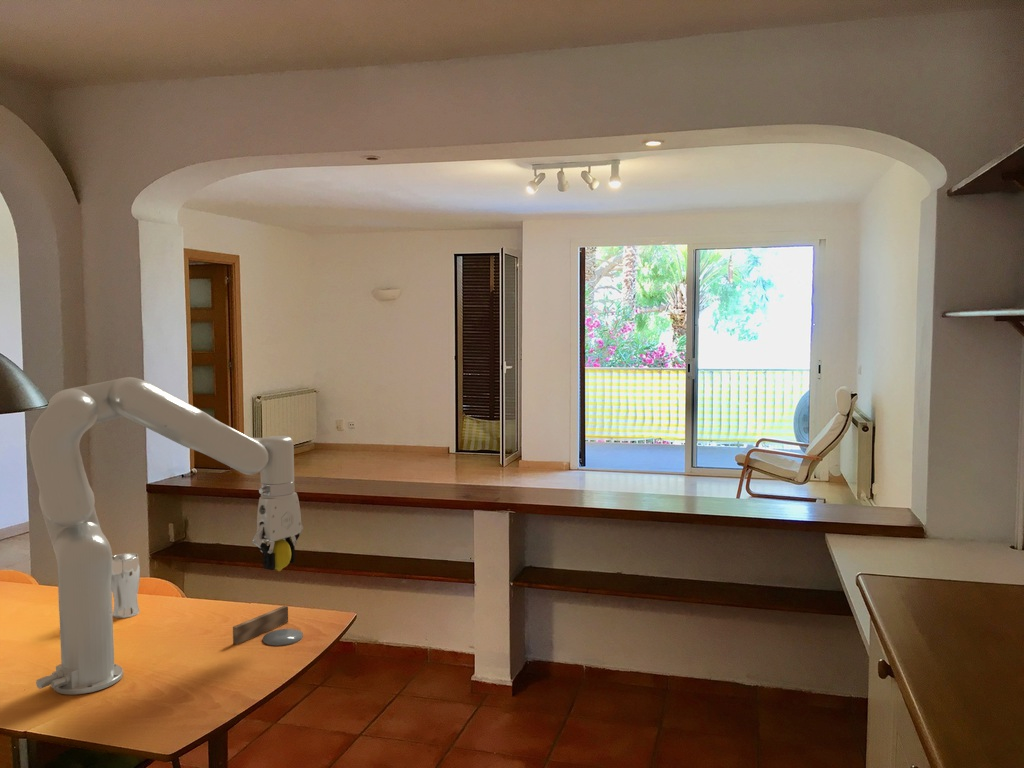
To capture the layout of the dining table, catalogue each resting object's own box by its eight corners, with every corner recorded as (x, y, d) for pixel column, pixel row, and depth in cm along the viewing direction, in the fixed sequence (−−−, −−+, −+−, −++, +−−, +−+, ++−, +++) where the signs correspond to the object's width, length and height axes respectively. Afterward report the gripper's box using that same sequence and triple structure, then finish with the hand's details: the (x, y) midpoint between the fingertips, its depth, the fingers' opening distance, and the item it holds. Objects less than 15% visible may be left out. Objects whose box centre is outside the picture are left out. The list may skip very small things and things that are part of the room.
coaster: (282, 648, 175) (282, 646, 175) (254, 641, 179) (254, 638, 179) (310, 635, 183) (310, 633, 183) (283, 628, 187) (283, 626, 187)
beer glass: (113, 611, 199) (111, 554, 198) (143, 608, 201) (141, 551, 200) (108, 620, 192) (106, 561, 192) (138, 617, 195) (137, 559, 194)
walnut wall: (236, 644, 177) (236, 627, 177) (233, 643, 178) (232, 626, 177) (288, 622, 191) (287, 606, 191) (284, 621, 192) (284, 605, 191)
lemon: (287, 574, 177) (286, 540, 177) (263, 574, 177) (262, 540, 177) (294, 567, 183) (293, 534, 182) (271, 567, 183) (270, 534, 182)
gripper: (261, 497, 170) (263, 578, 171) (315, 484, 185) (317, 558, 186) (237, 494, 173) (239, 573, 174) (292, 481, 188) (293, 554, 189)
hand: (279, 564), depth 180 cm, fingers closed on lemon, 5 cm apart
